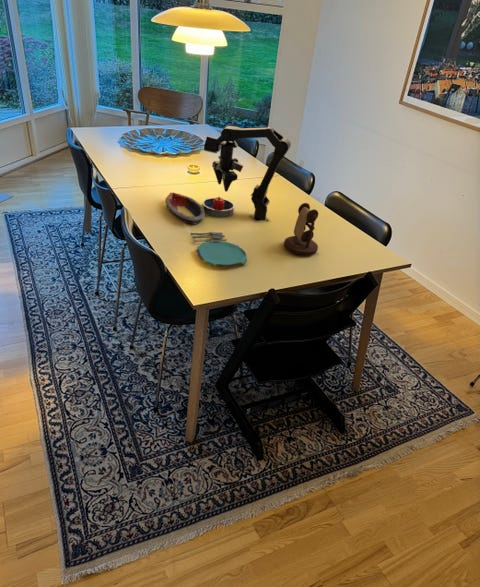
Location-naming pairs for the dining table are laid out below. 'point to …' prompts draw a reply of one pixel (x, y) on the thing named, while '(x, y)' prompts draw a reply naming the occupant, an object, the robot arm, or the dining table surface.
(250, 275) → the dining table surface
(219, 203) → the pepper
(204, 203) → the bowl
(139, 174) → the dining table surface
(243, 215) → the dining table surface
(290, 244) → the brown upright piece
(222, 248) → the cutlery set
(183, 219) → the dish
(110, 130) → the dining table surface
